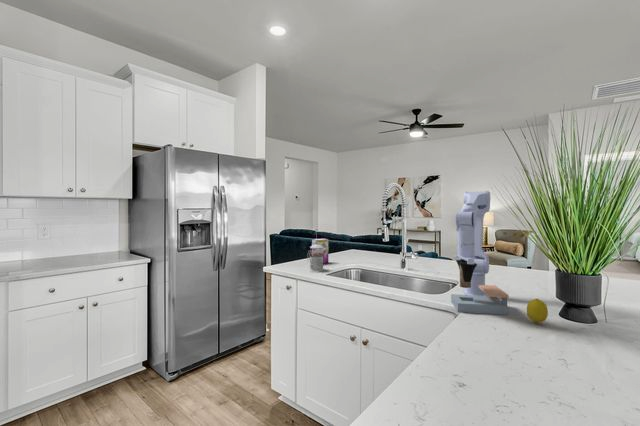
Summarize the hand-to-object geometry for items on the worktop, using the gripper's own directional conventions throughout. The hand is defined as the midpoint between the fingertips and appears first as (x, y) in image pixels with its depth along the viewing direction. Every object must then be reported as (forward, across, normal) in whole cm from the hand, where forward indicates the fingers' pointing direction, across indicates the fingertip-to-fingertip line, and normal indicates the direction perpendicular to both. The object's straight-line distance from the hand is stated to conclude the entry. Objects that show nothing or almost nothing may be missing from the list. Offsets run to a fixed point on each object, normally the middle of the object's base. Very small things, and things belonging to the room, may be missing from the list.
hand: (466, 280), depth 115 cm
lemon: (+10, +13, +18) cm, 24 cm away
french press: (+10, -56, -72) cm, 92 cm away
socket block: (+10, 0, +4) cm, 11 cm away
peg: (+2, 0, 0) cm, 2 cm away
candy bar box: (+10, -78, -74) cm, 108 cm away
